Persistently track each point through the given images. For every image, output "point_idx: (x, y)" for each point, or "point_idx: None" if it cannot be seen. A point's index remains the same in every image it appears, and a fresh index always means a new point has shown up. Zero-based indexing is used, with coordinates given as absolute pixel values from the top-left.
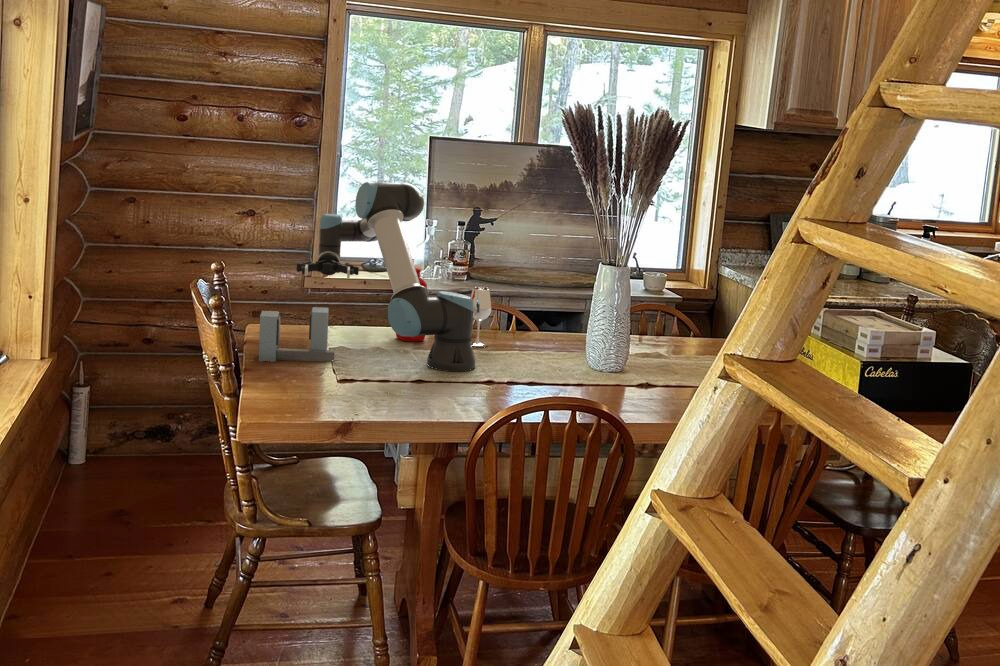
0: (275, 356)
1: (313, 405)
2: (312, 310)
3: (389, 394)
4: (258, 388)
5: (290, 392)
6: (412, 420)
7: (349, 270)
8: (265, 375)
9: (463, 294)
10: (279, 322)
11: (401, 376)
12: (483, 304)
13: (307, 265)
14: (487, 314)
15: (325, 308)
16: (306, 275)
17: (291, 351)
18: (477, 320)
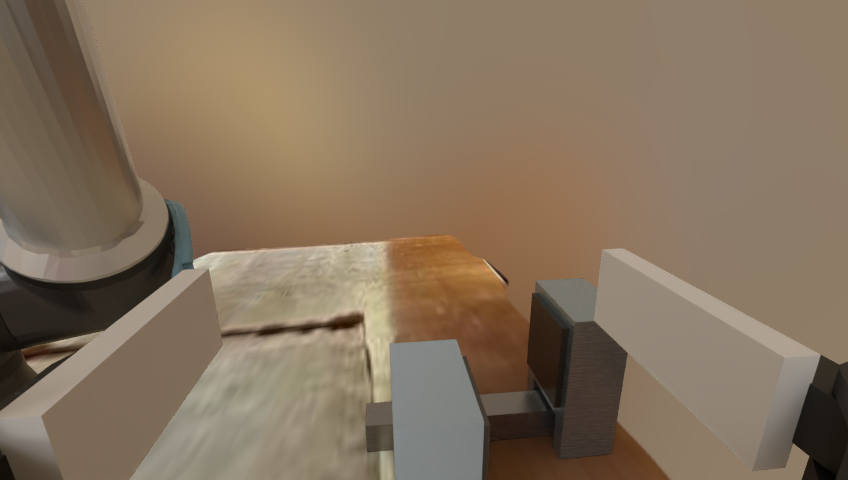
0: (528, 383)
1: (395, 259)
2: (461, 360)
3: (285, 290)
4: (481, 283)
5: (432, 279)
6: (287, 248)
7: (187, 273)
8: (499, 322)
9: None
10: (541, 319)
11: (216, 357)
12: None
13: (721, 316)
14: None
15: (408, 409)
16: (598, 315)
17: (495, 395)
18: None
